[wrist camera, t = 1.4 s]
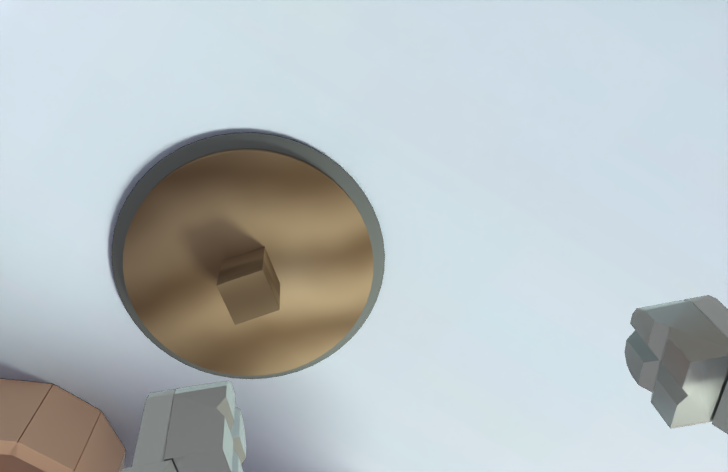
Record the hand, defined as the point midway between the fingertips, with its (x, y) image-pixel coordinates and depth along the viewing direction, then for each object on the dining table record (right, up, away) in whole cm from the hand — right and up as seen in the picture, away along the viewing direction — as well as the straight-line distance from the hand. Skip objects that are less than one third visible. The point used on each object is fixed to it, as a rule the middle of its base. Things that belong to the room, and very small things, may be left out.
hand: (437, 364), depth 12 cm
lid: (-10, 0, +32) cm, 33 cm away
